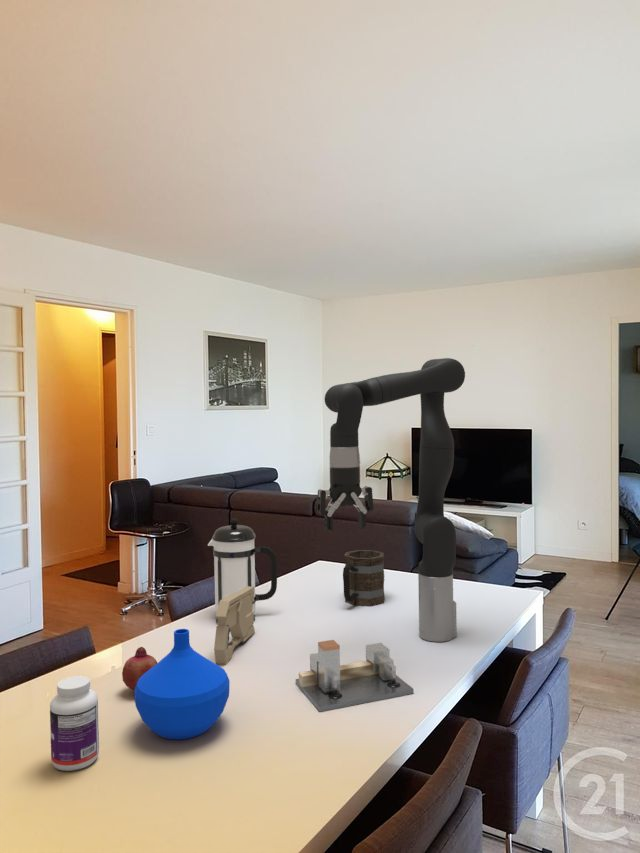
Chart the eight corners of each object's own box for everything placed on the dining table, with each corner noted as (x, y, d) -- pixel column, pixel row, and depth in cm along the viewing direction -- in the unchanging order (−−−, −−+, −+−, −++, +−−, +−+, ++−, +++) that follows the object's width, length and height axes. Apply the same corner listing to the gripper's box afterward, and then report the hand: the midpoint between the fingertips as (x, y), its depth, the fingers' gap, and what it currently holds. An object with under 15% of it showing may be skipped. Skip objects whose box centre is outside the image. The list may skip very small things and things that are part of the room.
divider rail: (386, 667, 154) (386, 657, 154) (391, 671, 151) (391, 661, 151) (298, 683, 146) (298, 672, 146) (302, 687, 144) (302, 676, 143)
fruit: (120, 688, 147) (119, 644, 147) (156, 681, 150) (156, 638, 150) (124, 702, 140) (123, 656, 139) (163, 695, 143) (162, 650, 143)
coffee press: (234, 630, 184) (232, 524, 183) (200, 618, 195) (198, 518, 194) (279, 615, 197) (277, 516, 196) (244, 604, 208) (242, 511, 207)
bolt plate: (382, 668, 156) (382, 663, 156) (413, 693, 142) (413, 688, 142) (295, 683, 148) (295, 678, 148) (319, 711, 134) (319, 706, 134)
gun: (225, 666, 158) (226, 604, 159) (212, 666, 159) (213, 603, 160) (255, 640, 182) (255, 586, 183) (244, 639, 183) (244, 585, 183)
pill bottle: (59, 750, 120) (57, 673, 120) (104, 748, 121) (102, 671, 120) (44, 775, 112) (42, 692, 112) (92, 772, 113) (90, 690, 112)
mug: (356, 592, 220) (356, 548, 220) (392, 597, 213) (392, 552, 213) (326, 608, 203) (325, 560, 203) (365, 614, 196) (364, 565, 196)
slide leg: (326, 674, 149) (325, 632, 149) (345, 693, 139) (344, 648, 139) (310, 677, 148) (309, 635, 148) (327, 697, 138) (327, 651, 138)
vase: (185, 761, 116) (182, 655, 115) (114, 735, 126) (112, 637, 125) (249, 719, 131) (247, 625, 131) (182, 698, 141) (180, 611, 140)
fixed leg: (381, 665, 154) (380, 642, 154) (402, 682, 144) (402, 658, 144) (365, 668, 153) (365, 645, 153) (386, 685, 143) (386, 661, 143)
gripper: (364, 462, 168) (365, 525, 168) (312, 465, 162) (313, 529, 163) (377, 464, 161) (378, 530, 161) (323, 467, 155) (324, 535, 156)
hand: (345, 529), depth 162 cm, fingers open, 8 cm apart
